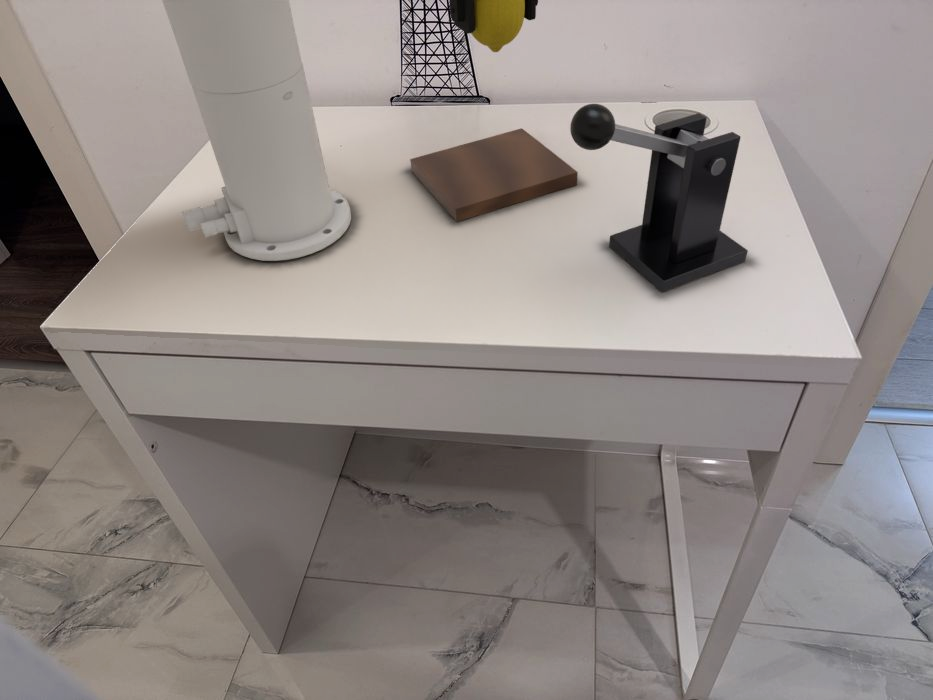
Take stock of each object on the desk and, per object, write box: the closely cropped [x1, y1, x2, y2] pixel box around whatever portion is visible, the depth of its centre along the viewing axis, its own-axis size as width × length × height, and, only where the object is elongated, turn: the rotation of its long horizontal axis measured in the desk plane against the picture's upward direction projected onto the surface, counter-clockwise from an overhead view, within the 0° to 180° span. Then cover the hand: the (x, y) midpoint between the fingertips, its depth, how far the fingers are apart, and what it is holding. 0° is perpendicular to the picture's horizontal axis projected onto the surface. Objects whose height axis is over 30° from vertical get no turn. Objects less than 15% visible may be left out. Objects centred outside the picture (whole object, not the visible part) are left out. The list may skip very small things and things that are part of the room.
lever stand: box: [608, 112, 749, 293], centre depth 59 cm, size 9×8×12 cm
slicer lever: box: [569, 103, 709, 168], centre depth 53 cm, size 14×3×3 cm, turn 116°
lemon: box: [470, 0, 525, 53], centre depth 64 cm, size 6×6×8 cm
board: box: [409, 128, 578, 223], centre depth 74 cm, size 14×12×2 cm
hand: (494, 20), depth 64 cm, fingers closed on lemon, 5 cm apart
